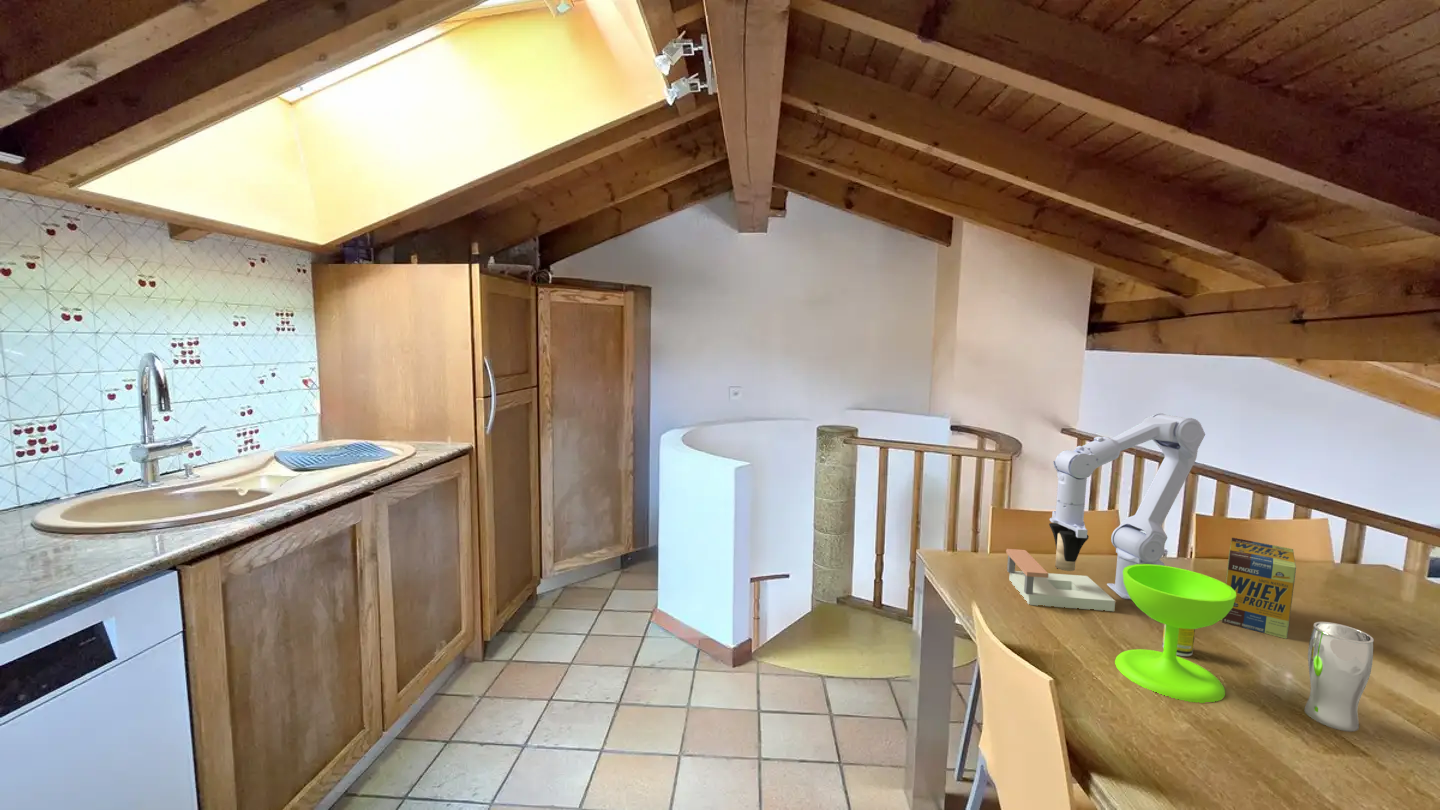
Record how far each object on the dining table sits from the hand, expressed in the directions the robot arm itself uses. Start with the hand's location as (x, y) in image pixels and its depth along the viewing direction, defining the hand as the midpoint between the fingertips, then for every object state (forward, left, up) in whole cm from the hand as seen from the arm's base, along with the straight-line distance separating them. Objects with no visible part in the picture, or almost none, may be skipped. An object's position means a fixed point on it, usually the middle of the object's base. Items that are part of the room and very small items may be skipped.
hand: (1066, 557), depth 138 cm
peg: (0, 0, -3) cm, 3 cm away
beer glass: (-24, +42, -10) cm, 49 cm away
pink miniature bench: (+9, 0, -7) cm, 11 cm away
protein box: (-37, +5, -10) cm, 39 cm away
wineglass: (-5, +33, -10) cm, 35 cm away
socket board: (+1, 0, -9) cm, 9 cm away
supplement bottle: (-12, +23, -10) cm, 28 cm away
